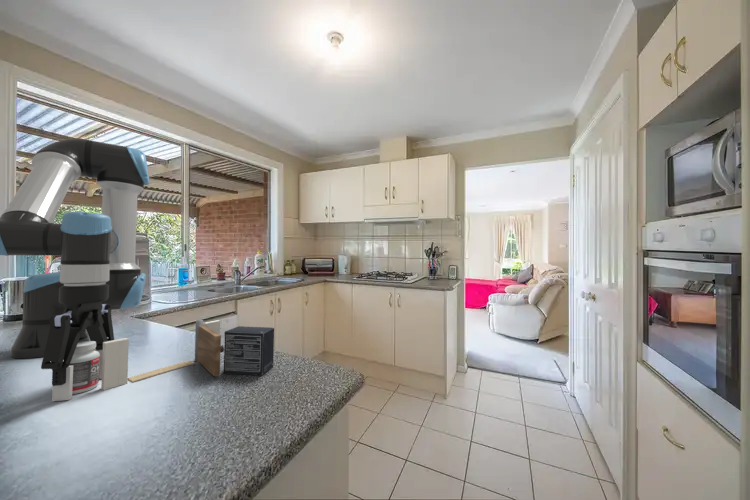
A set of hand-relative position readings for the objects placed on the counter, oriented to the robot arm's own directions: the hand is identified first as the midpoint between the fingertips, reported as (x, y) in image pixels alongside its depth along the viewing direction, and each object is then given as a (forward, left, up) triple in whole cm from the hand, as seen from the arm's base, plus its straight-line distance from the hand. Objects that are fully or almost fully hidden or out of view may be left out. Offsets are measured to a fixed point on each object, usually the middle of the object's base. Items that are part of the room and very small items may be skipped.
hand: (81, 387), depth 60 cm
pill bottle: (0, 0, 0) cm, 0 cm away
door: (+12, +21, 0) cm, 24 cm away
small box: (+21, +26, 0) cm, 33 cm away
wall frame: (+4, +15, 0) cm, 15 cm away
